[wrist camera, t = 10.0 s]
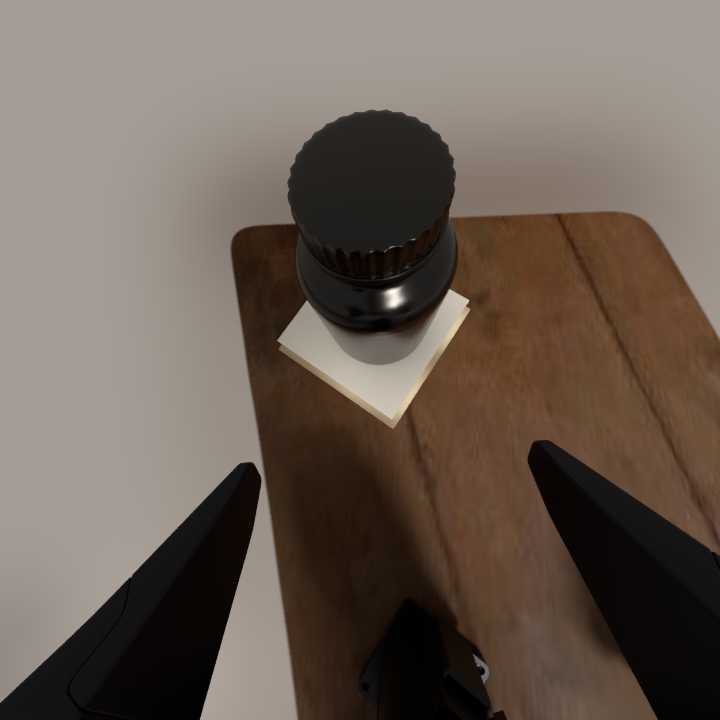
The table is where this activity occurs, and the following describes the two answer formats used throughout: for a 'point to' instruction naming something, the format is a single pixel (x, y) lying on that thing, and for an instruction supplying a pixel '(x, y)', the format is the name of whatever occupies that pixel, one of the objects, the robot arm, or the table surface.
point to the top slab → (368, 381)
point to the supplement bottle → (374, 231)
